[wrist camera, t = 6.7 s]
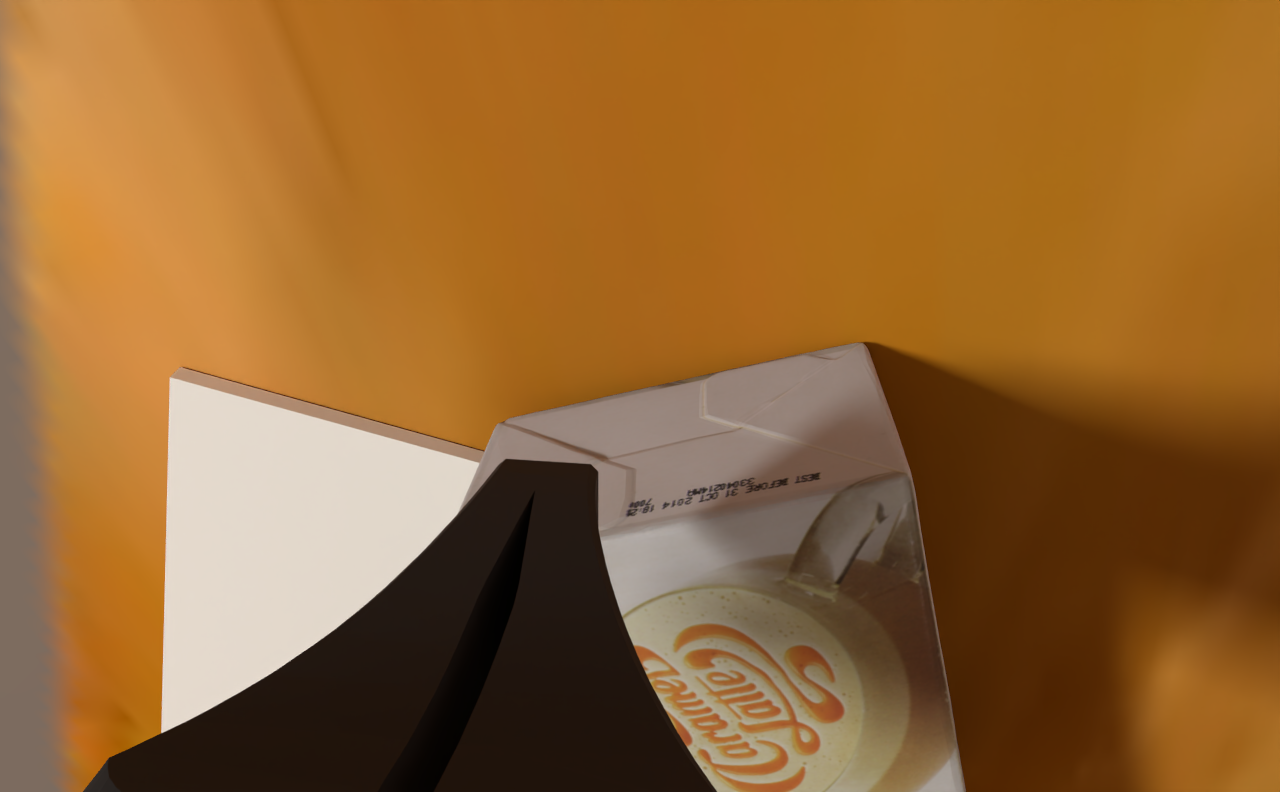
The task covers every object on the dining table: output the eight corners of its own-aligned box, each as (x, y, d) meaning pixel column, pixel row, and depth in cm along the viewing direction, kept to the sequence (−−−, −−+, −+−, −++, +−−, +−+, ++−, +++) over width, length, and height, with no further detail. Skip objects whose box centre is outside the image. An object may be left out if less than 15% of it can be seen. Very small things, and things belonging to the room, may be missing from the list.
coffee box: (495, 411, 23) (654, 853, 30) (425, 569, 18) (641, 1072, 24) (872, 333, 22) (952, 818, 28) (931, 479, 16) (1013, 1043, 23)
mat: (789, 536, 25) (790, 549, 25) (609, 898, 34) (608, 912, 34) (179, 366, 24) (170, 377, 23) (167, 792, 33) (159, 805, 33)
